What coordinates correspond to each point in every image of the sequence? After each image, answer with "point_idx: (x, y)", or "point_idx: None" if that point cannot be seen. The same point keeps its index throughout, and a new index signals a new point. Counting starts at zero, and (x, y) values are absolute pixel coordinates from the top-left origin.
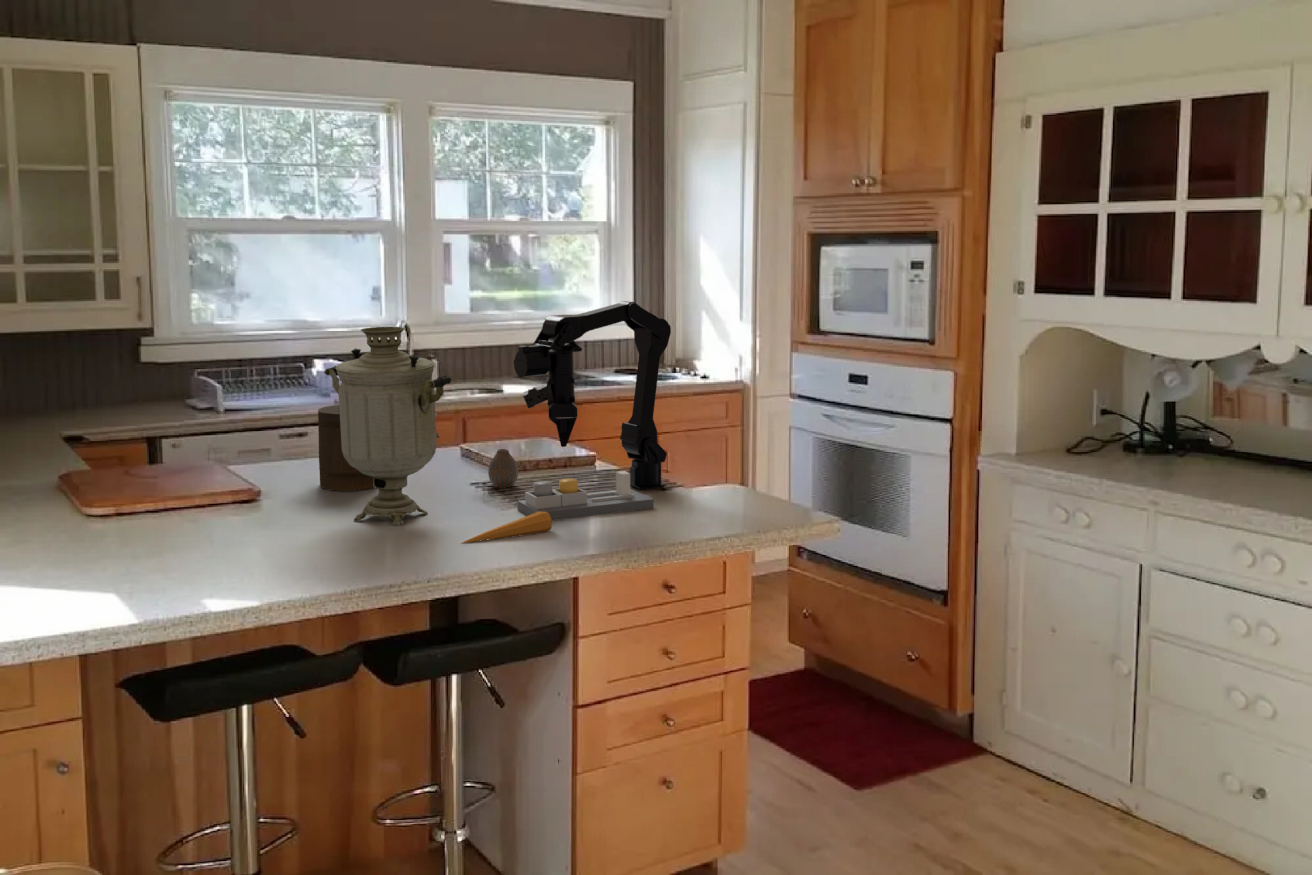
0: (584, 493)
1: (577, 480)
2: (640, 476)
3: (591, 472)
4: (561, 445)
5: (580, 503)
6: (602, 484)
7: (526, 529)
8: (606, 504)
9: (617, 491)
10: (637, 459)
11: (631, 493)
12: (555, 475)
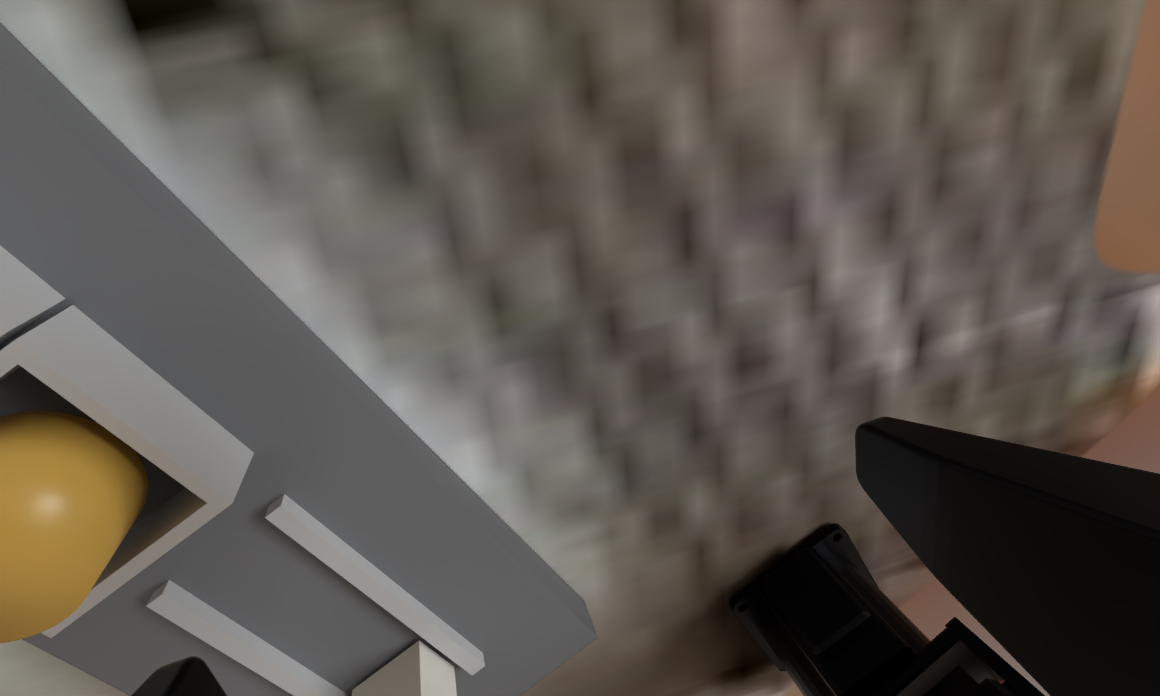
0: None
1: (22, 633)
2: (791, 636)
3: (1108, 277)
4: (148, 688)
5: None
6: (849, 403)
7: None
8: (113, 682)
9: (403, 668)
10: (888, 685)
11: (469, 688)
12: (1092, 81)
